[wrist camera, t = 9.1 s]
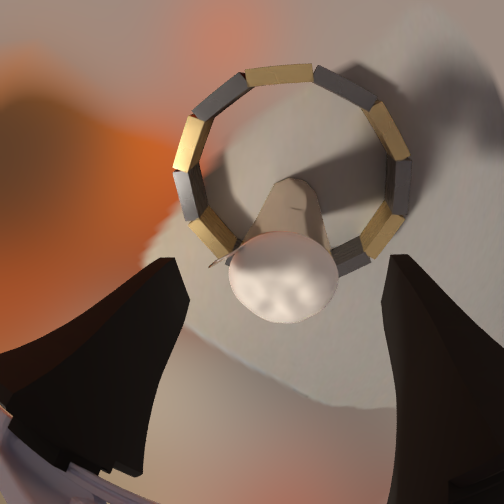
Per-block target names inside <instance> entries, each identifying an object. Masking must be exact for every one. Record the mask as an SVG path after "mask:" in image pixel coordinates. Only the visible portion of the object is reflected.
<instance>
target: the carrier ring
mask: <svg viewBox="0 0 504 504" xmlns="http://www.w3.org/2000/svg"><path fill="white" fill-rule="evenodd" d="M299 82H312V83H314V84H316V85H319V86H321V87H323V88H325V89H327V90H329V91H331V92H333V93H335V94H337V95H338V96H340V97H342V98H344V99H346V100H348V101H350V102H351V103H353V104H355V105H357V106H359V107H360V108H361V109H362V111H363V112H364V114H365V116H366V117H367V119H368V120H369V122H370V124H371V125H372V127H373V129H374V131H375V132H376V134H377V136H378V138H379V139H380V141H381V143H382V145H383V147H384V148H385V150H386V152H387V161H386V185H385V200H384V201H383V203H382V204H381V206H380V207H379V209H378V210H377V212H376V213H375V215H374V216H373V217H372V219H371V220H370V222H369V223H368V225H367V226H366V228H365V229H364V230H363V232H362V233H361V235H360V236H359V237H357V238H355V239H353V240H351V241H349V242H347V243H345V244H343V245H341V246H339V247H337V248H335V249H333V250H332V254H333V257H334V261H335V264H336V267H337V270H338V278H339V277H341V276H344V275H346V274H348V273H350V272H352V271H354V270H356V269H359V268H361V267H363V266H365V265H367V264H369V263H371V260H370V257H371V258H373V259H376V258H377V256H378V255H379V254H380V252H381V251H382V250H383V249H384V247H385V246H386V245H387V243H388V242H389V241H390V239H391V238H392V237H393V235H394V234H395V233H396V231H397V230H398V229H399V227H400V226H401V224H402V223H403V222H404V220H405V219H404V217H403V215H407V210H408V202H409V193H410V182H411V169H412V160H410V159H409V158H408V157H409V156H411V154H410V152H409V150H408V148H407V146H406V144H405V142H404V140H403V138H402V136H401V134H400V132H399V130H398V128H397V127H396V125H395V123H394V121H393V119H392V117H391V116H390V114H389V112H388V110H387V109H386V107H385V105H384V104H383V102H382V101H379V100H376V99H377V96H376V95H374V94H372V93H371V92H369V91H367V90H365V89H364V88H362V87H360V86H358V85H357V84H355V83H353V82H351V81H349V80H348V79H346V78H344V77H342V76H340V75H338V74H336V73H334V72H332V71H330V70H328V69H326V68H324V67H322V66H320V65H318V66H317V67H316V69H315V71H314V73H313V70H312V64H294V65H281V66H270V67H262V68H254V69H247V70H245V73H241V72H238V73H237V74H236V75H234V77H232V78H230V79H229V80H228V81H227V82H225V83H224V84H223V85H222V86H220V87H219V88H218V89H217V90H215V91H214V92H213V93H212V94H211V95H209V96H208V97H207V98H206V99H205V100H204V101H202V102H201V103H200V104H199V105H198V106H196V108H194V109H193V110H192V112H193V113H194V114H191V115H189V116H188V118H187V121H186V124H185V128H184V131H183V134H182V138H181V140H180V144H179V147H178V150H177V154H176V157H175V161H174V165H173V168H175V169H177V170H175V171H174V172H173V176H174V180H175V184H176V188H177V192H178V195H179V199H180V203H181V207H182V210H183V214H184V218H185V221H191V222H190V223H189V225H188V226H189V227H190V228H191V229H192V231H193V232H194V233H195V234H196V235H197V236H198V237H199V238H200V239H201V240H202V242H203V243H204V244H205V245H206V246H207V247H208V248H209V249H210V250H211V251H212V252H213V254H214V255H215V256H216V257H217V258H218V259H219V258H221V257H223V256H225V255H227V254H229V253H230V252H232V251H234V250H236V249H238V248H239V246H240V244H241V243H242V241H241V240H239V239H237V238H236V237H235V236H234V234H233V233H232V232H231V231H230V230H229V229H228V228H227V226H226V225H225V224H224V223H223V222H222V221H221V219H220V218H219V217H218V216H217V215H216V214H215V212H214V211H213V210H212V209H211V208H210V207H209V206H208V201H207V197H206V192H205V188H204V183H203V179H202V174H201V170H200V165H199V160H200V157H201V154H202V151H203V149H204V145H205V143H206V140H207V137H208V134H209V131H210V129H211V126H212V123H213V120H214V118H215V117H216V116H217V115H218V114H220V113H221V112H222V111H223V110H225V109H226V108H227V107H229V106H230V105H231V104H233V103H234V102H235V101H236V100H238V99H239V98H240V97H242V96H243V95H244V94H246V93H247V92H249V91H250V90H251V89H252V88H254V87H255V86H263V85H272V84H285V83H299ZM234 255H235V254H233V255H232V256H230V257H228V258H227V260H226V263H225V265H228V266H230V263H231V260H232V258H233V256H234Z"/></svg>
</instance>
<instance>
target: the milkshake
mask: <svg viewBox="0 0 504 504" xmlns="http://www.w3.org/2000/svg"><path fill="white" fill-rule="evenodd" d="M233 254H235V255H234V256H233V258H232V260H231V263H230V266H229V280H230V284H231V288H232V290H233V292H234V294H235V296H236V297H237V298H238V300H239V301H240V302H241V303H242V304H243V305H244V306H246V307H247V308H248V309H249V310H250V311H252V312H253V313H254V314H256V315H257V316H259V317H261V318H263V319H265V320H268V321H271V322H275V323H296V322H300V321H302V320H304V319H306V318H308V317H310V316H312V315H314V314H316V313H318V312H319V311H321V310H322V309H323V308H324V307H325V306H326V305H327V304H328V303H329V302H330V300H331V299H332V297H333V295H334V293H335V291H336V289H337V286H338V270H337V267H336V264H335V261H334V257H333V254H332V250H331V247H330V243H329V240H328V237H327V233H326V230H325V226H324V222H323V218H322V214H321V210H320V206H319V203H318V199H317V195H316V192H315V191H314V190H313V189H312V188H311V187H310V186H309V185H308V184H307V183H306V182H305V181H303V180H298V179H293V178H287V179H285V180H282V181H280V182H278V183H275V184H274V186H273V187H272V189H271V191H270V193H269V195H268V196H267V198H266V200H265V202H264V204H263V206H262V208H261V210H260V212H259V214H258V216H257V218H256V220H255V221H254V223H253V224H252V226H251V227H250V229H249V231H248V232H247V234H246V236H245V237H244V239H243V241H242V243H241V244H240V246H239V248H238V249H236V250H234V251H232V252H230V253H229V254H227V255H225V256H223V257H221V258H219V259H218V260H216V261H214V262H213V263H212V264H211V265H210V266H209V267H208V268H210V267H212V266H214V265H216V264H217V263H219V262H221V261H223V260H225V259H226V258H228V257H230V256H232V255H233Z"/></svg>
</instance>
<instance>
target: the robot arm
mask: <svg viewBox="0 0 504 504" xmlns="http://www.w3.org/2000/svg"><path fill="white" fill-rule="evenodd" d="M189 302H190V299H189V296H188V293H187V291H186V288H185V285H184V283H183V280H182V277H181V274H180V271H179V269H178V266H177V263H176V260H175V257H174V258H159V259H157V260H155V261H154V262H152V263H151V264H149V265H148V266H146V267H145V268H144V269H142V270H141V271H140V272H138V273H137V274H136V275H134V276H133V277H132V278H130V279H129V280H128V281H126V282H125V283H124V284H122V285H121V286H120V287H118V288H117V289H116V290H115V291H113V292H112V293H110V294H109V295H108V296H106V297H105V298H104V299H102V300H101V301H99V302H98V303H97V304H95V305H94V306H93V307H91V308H90V309H88V310H87V311H86V312H84V313H83V314H81V315H80V316H78V317H76V318H75V319H73V320H72V321H70V322H69V323H67V324H65V325H64V326H62V327H60V328H58V329H56V330H54V331H52V332H50V333H49V334H47V335H45V336H43V337H41V338H39V339H37V340H35V341H32V342H30V343H28V344H26V345H23V346H21V347H18V348H16V349H13V350H10V351H7V352H4V353H1V354H0V405H1V406H2V407H3V408H4V409H5V410H6V411H8V412H9V413H10V414H11V415H13V418H12V417H11V416H10V415H9V414H8V413H7V412H5V411H4V410H3V409H2V408H1V407H0V491H1V493H2V495H3V496H4V498H5V500H6V502H7V504H106V502H108V503H110V504H159V503H156V502H154V501H151V500H149V499H146V498H144V497H141V496H139V495H136V494H134V493H132V492H129V491H127V490H125V489H122V488H121V487H119V486H116V485H114V484H112V483H110V482H108V481H106V480H104V479H102V478H101V477H99V476H98V475H99V472H100V470H102V471H104V472H106V473H108V474H110V473H111V471H112V468H114V469H116V470H119V471H121V472H123V473H125V474H127V475H130V476H132V477H138V476H140V475H142V474H143V460H144V450H145V442H146V436H147V430H148V424H149V420H150V415H151V411H152V406H153V402H154V399H155V395H156V391H157V388H158V384H159V381H160V379H161V376H162V373H163V371H164V369H165V366H166V364H167V361H168V359H169V357H170V354H171V352H172V350H173V348H174V345H175V343H176V341H177V338H178V336H179V334H180V331H181V329H182V326H183V324H184V321H185V317H186V314H187V310H188V306H189ZM381 306H382V315H383V324H384V331H385V336H386V340H387V345H388V350H389V355H390V360H391V365H392V371H393V376H394V382H395V390H396V402H397V434H396V451H395V461H394V469H393V476H392V483H391V488H390V493H389V497H388V502H387V504H504V348H503V347H502V346H501V345H499V344H498V343H497V342H496V341H495V340H494V339H492V338H491V337H490V336H489V335H488V334H487V333H486V332H485V331H484V330H483V329H481V328H480V327H479V326H478V325H477V324H476V323H475V322H474V321H473V320H472V319H471V318H470V317H469V316H468V315H467V314H466V313H465V312H464V311H463V310H462V309H461V308H460V307H459V306H458V305H457V304H456V303H455V302H454V301H453V300H452V299H451V298H450V297H449V296H448V295H447V294H446V293H445V292H444V291H443V290H442V289H441V288H440V287H439V286H438V285H437V284H436V283H435V281H434V280H433V279H432V278H431V277H430V276H429V275H428V274H427V273H426V272H425V271H424V270H423V269H422V268H421V267H420V266H419V265H418V264H417V263H416V262H415V261H414V260H413V259H412V258H411V257H410V256H409V255H408V254H399V255H390V260H389V265H388V271H387V276H386V281H385V286H384V291H383V295H382V300H381Z"/></svg>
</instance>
